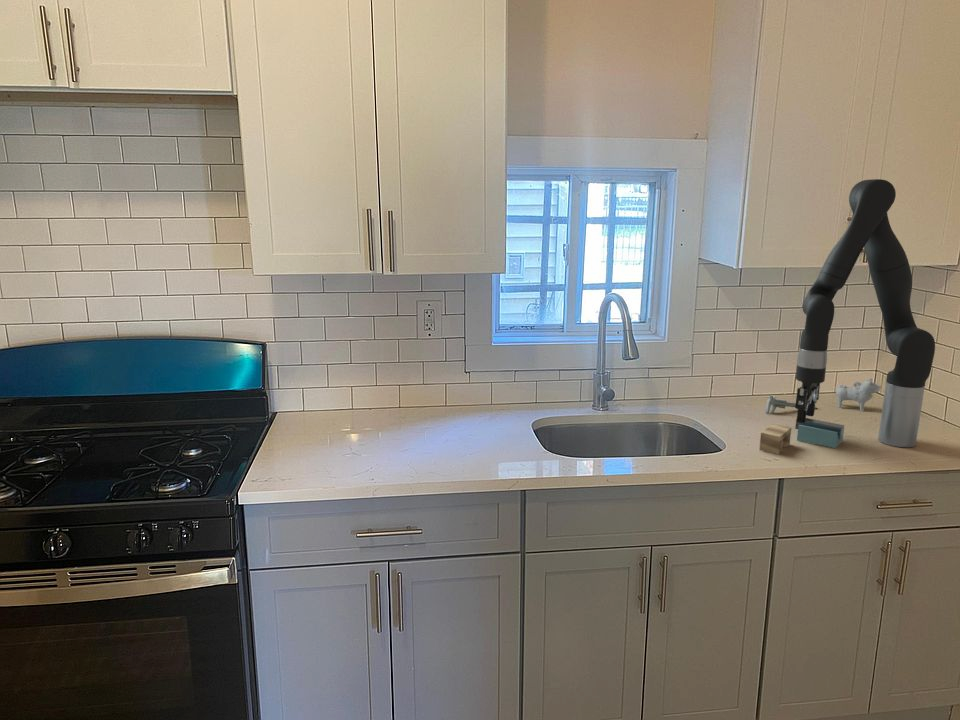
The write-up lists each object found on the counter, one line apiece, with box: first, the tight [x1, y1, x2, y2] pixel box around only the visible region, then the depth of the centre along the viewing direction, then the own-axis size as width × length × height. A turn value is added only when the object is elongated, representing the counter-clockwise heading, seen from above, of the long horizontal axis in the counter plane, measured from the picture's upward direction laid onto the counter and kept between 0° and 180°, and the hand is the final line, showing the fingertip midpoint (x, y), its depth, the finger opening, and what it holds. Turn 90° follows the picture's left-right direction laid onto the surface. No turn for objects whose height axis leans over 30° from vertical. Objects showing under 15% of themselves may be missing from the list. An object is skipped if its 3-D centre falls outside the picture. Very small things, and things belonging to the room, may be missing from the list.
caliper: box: [765, 394, 818, 414], centre depth 219 cm, size 20×1×6 cm, turn 108°
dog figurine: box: [835, 378, 882, 413], centre depth 221 cm, size 5×13×11 cm, turn 60°
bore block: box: [759, 423, 792, 455], centre depth 185 cm, size 10×5×5 cm, turn 139°
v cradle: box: [796, 425, 844, 449], centre depth 191 cm, size 8×10×4 cm
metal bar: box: [794, 417, 845, 438], centre depth 191 cm, size 3×12×3 cm, turn 48°
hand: (805, 419), depth 193 cm, fingers open, 8 cm apart
